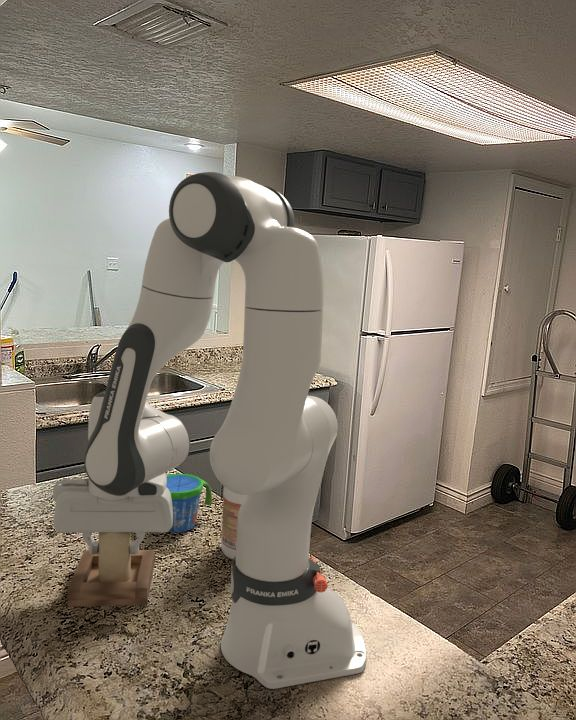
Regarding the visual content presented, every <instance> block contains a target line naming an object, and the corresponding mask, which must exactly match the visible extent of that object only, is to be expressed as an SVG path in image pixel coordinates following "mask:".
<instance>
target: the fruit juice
mask: <svg viewBox="0 0 576 720" xmlns="http://www.w3.org/2000/svg"><path fill="white" fill-rule="evenodd" d="M246 496H247V495H241V494H237V493H234V492H232V491H230V490H228V489H227V488H225V487H224V486H223V495H222V498H223V499H222V518H221V520H222V521H221V542H220V546H221V551H222V553H223V555H224V556H225V557H227V558H229V559H231V560H234V557H235V556H236V541H237V521H238V513H239V510H240V507H241V505H242V503H243V501H244V499H245V498H246Z"/></svg>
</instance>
